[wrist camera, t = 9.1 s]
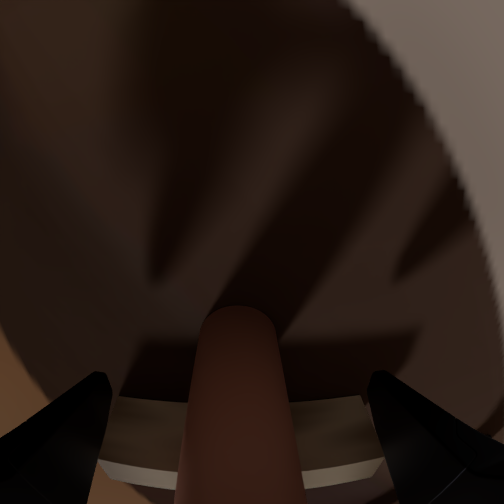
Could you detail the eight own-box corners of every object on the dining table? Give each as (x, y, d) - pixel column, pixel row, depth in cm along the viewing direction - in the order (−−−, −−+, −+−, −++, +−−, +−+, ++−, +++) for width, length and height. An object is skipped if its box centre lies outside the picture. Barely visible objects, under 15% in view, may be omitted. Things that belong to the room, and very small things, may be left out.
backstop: (359, 394, 13) (385, 456, 9) (351, 418, 14) (371, 476, 10) (118, 395, 13) (95, 458, 9) (127, 419, 13) (110, 478, 10)
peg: (278, 304, 11) (333, 560, 3) (273, 365, 12) (305, 576, 4) (196, 304, 11) (150, 562, 3) (202, 365, 12) (181, 578, 4)
